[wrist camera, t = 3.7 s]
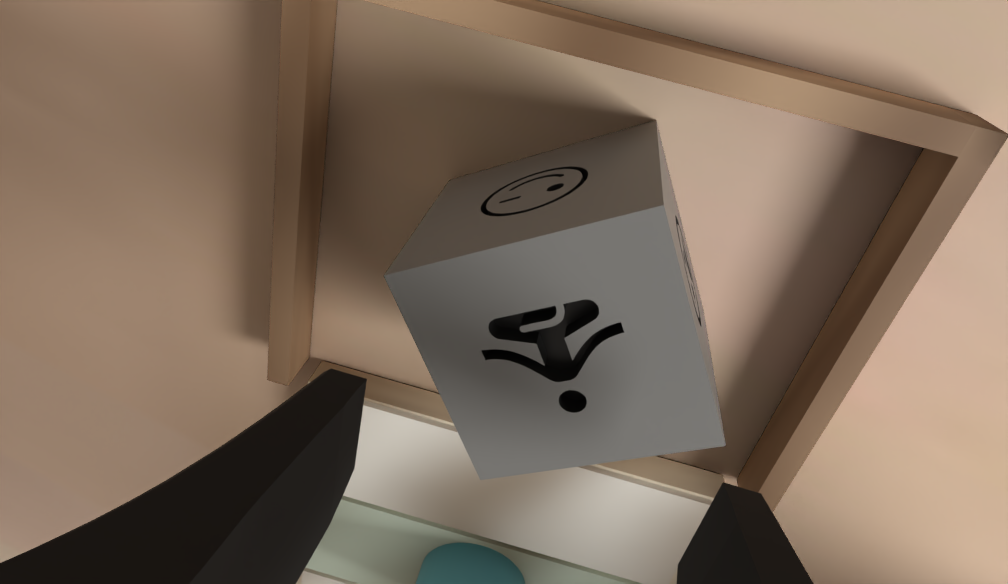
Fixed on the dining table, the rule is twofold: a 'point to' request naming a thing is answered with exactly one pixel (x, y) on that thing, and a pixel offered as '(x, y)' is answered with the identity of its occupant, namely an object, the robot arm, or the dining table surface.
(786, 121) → the dining table surface
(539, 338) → the grey symbol block
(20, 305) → the dining table surface
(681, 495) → the board
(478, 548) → the pawn
